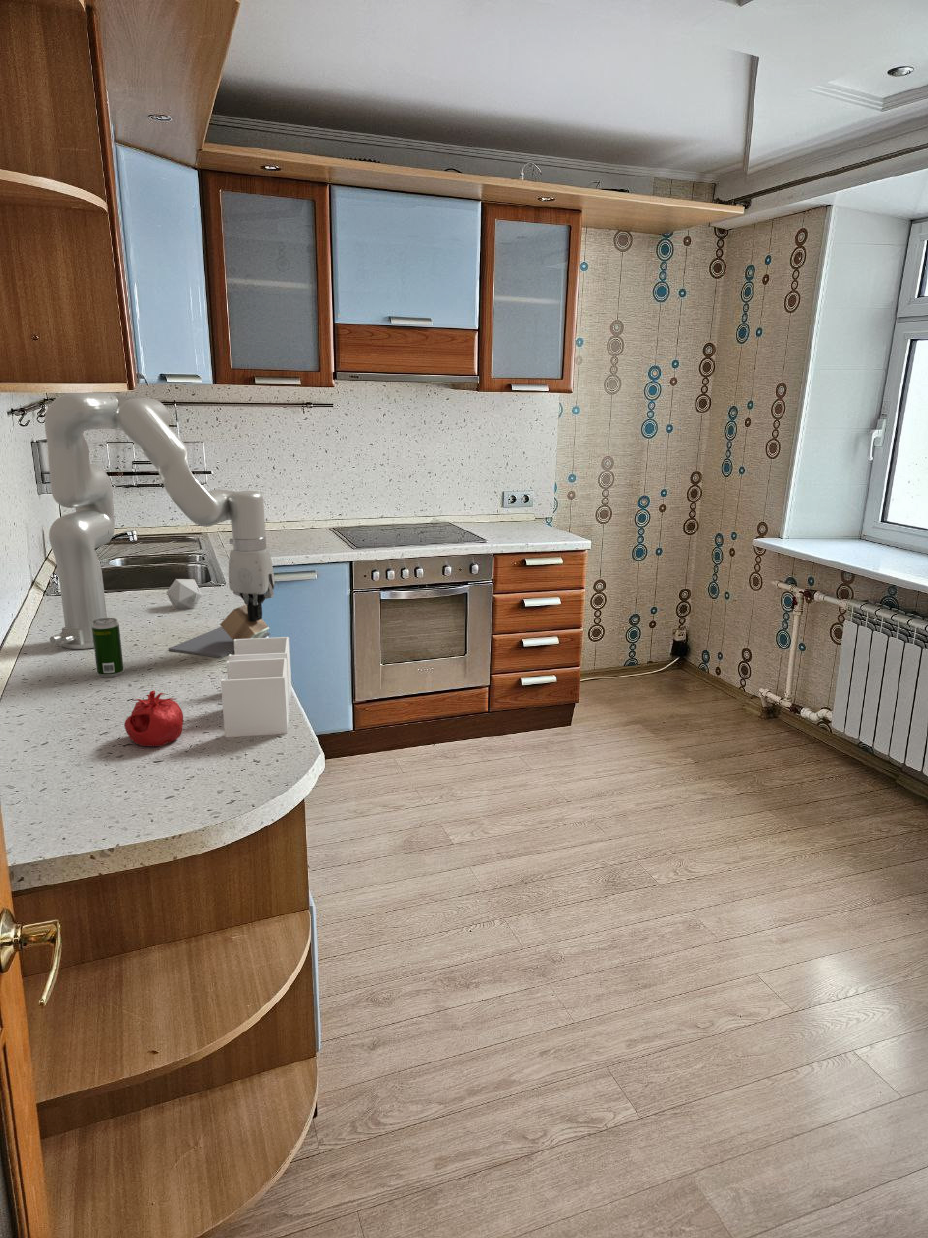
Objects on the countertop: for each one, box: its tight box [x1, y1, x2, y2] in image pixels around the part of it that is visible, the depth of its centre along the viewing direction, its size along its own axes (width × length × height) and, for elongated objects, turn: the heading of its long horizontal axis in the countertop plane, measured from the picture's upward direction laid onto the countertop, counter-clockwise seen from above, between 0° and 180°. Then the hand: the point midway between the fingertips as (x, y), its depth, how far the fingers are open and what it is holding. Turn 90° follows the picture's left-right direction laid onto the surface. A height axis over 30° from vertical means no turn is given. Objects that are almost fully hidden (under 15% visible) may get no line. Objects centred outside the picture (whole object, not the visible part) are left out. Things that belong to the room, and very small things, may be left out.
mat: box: [168, 626, 271, 659], centre depth 198 cm, size 20×15×1 cm
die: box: [165, 578, 203, 610], centre depth 229 cm, size 8×9×10 cm
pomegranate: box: [123, 690, 184, 747], centre depth 142 cm, size 10×10×9 cm
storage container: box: [220, 636, 292, 738], centre depth 156 cm, size 25×11×11 cm, turn 10°
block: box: [219, 604, 270, 641], centre depth 195 cm, size 6×6×8 cm
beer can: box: [92, 617, 124, 678], centre depth 174 cm, size 5×5×12 cm
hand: (255, 619), depth 193 cm, fingers closed
